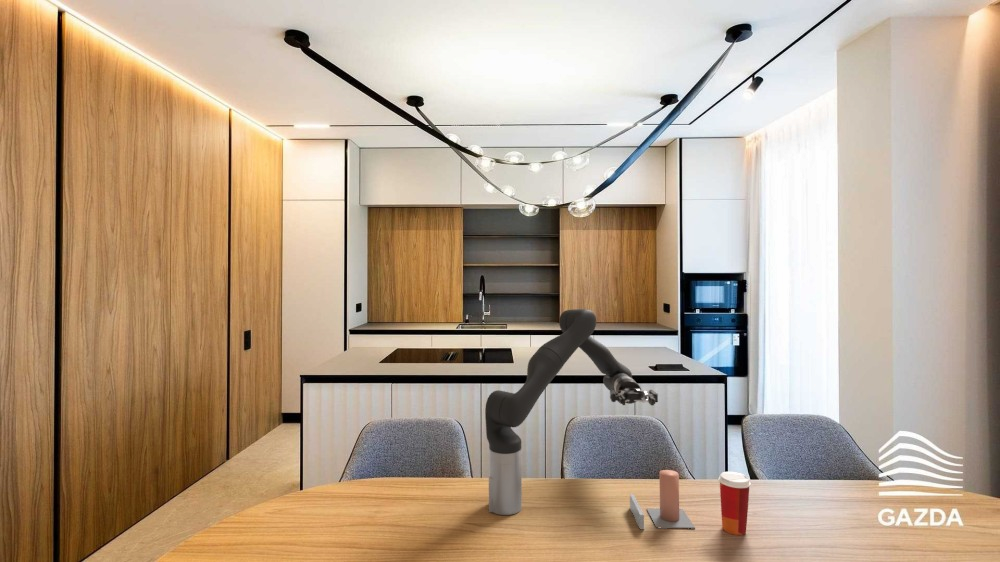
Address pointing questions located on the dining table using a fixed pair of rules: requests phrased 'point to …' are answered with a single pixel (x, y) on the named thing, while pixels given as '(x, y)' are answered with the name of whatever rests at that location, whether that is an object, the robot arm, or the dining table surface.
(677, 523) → the resting mat
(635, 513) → the acrylic wall
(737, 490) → the paper cup
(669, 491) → the salmon pink cylinder
